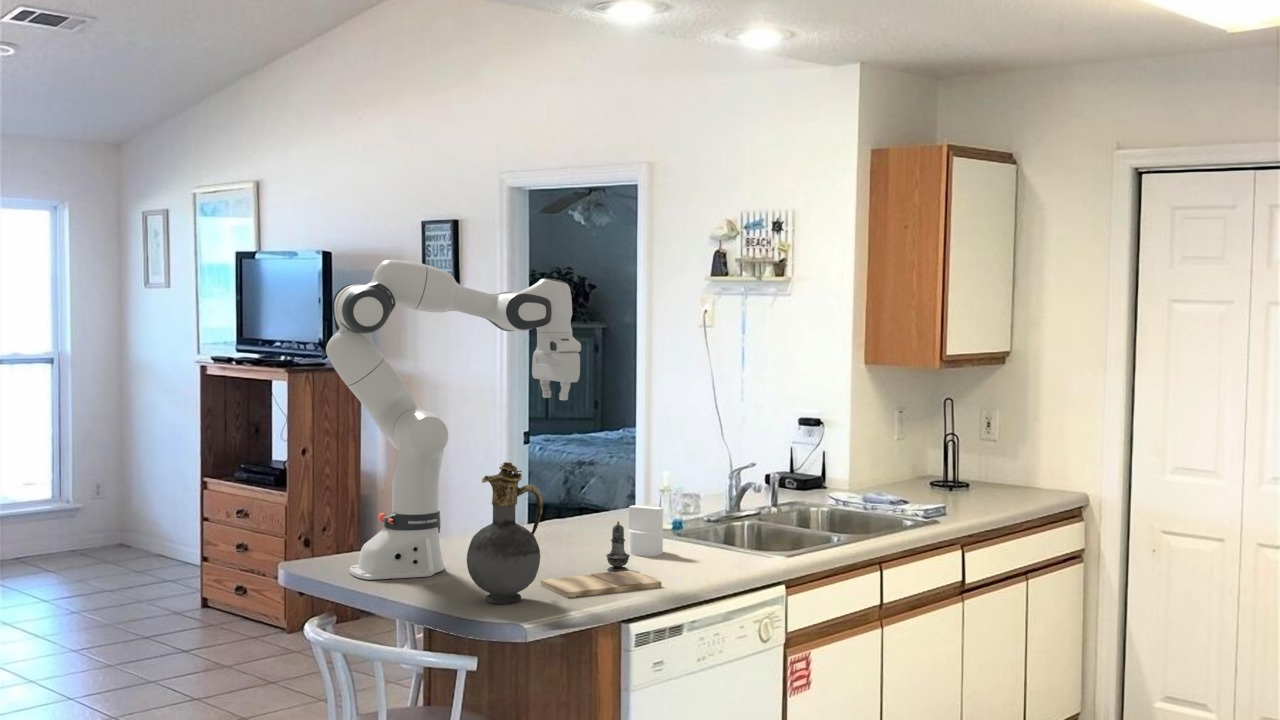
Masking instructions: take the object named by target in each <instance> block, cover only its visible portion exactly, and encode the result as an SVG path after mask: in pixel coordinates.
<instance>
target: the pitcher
mask: <svg viewBox="0 0 1280 720" xmlns="http://www.w3.org/2000/svg"><path fill="white" fill-rule="evenodd" d="M499 470H500V471H499V473H498V474H495V475H484V477H483V478H482V479H481V482H482V483H489V485H490V486H491V488H492V498H491V499H492V500H491V506H492V523H490V524H488V525H486V526H485V527H483V528H481V529H480V530H479V531H478V532H476V533H475V534H474V535H473V536H472V537H471V540H470V542H469V545H468V550H467V554H466V566H467V570H468V571H467V572H468V573H469V576H470V578H471V580H472V581H473V582H474V583H475V585H476V586H477V587H478V588H479V589H481V590H483V591H484V592H486V593H489V594H487V595H486V596H485V601H486V603H489V604H493V605H508V604H514V603H517V602H520V601H522V595H521V594H520V593H521V592H522V591H524V590H525V589H527V588H528V587H529V586H531V584H532V583H533V582H534V581H535V579H536V577H537V575H538V571H539V568H540V564H541V550H540V547H539V543H538V541H537V538H536V537H535V533H536V532H537V529H538V526H539V524H540V520H541V516H542V515H543V507H544V498H543V496H542V494H541V492H540V489H539V487H538V486H536V485H535V484H525V485H523V486H522V487H518V486H519V482H520V481H521V480H522V471H523V470H518V467H517V466H516V465H513V462H508V461H505V462H503V463H501V464H500V466H499ZM528 492H530V493H533V494H534V496H535V498H536V502H537V503H536V504H537V508H536V518H535V521H534V524H533V526H532V531H530V530H528V528H526V527H524V526H523V525H520V524H519V523H517V522H516V506H517V504H518V497H520V496H522V495H523V494H525V493H528Z"/></svg>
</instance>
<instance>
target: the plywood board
mask: <svg viewBox="0 0 1280 720" xmlns="http://www.w3.org/2000/svg"><path fill="white" fill-rule="evenodd" d="M540 586H542V587H544V588H546V589H548V590H550V591H552V592H554V593H556V594H559V595H560V596H563V597H565V598H566V599H567V598H568V597H570V598H577V597H576V596H579V597H585V596H586V597H587V596H594V595H595V596H596V595H603V594H613V593H621V592H628V591H629V592H630V591H639V590H638V589H640V590H647V589H646V588H648V589H656V588H655V587H657V588H662V581H660V580H658V579H655V578H653V577H649V576H648V575H645V574H642V573H639V572H637V571H634V570H628V571H622V572H610V571H606V572H605V571H604V572H599V573H598V572H597V573H590V574H585V575H575V576H567V577H558V578H547V579H540Z"/></svg>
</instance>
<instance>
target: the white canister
mask: <svg viewBox="0 0 1280 720" xmlns="http://www.w3.org/2000/svg"><path fill="white" fill-rule="evenodd" d="M663 543H664V508H663V507H660V506H659V507H658V506H650V505H649V506H648V505H647V506H646V505H636V504H635V505H630V506H629V507H628V552H627V554H629V555H631V554H632V555H633V556H639V557H654V556H655V557H656V556H659V555H660V554H661V555H663V545H664V544H663Z"/></svg>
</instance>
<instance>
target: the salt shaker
mask: <svg viewBox="0 0 1280 720" xmlns="http://www.w3.org/2000/svg"><path fill="white" fill-rule="evenodd" d="M611 529H612V532H611V533H612V535H611V537H612V538H611V539H610V541H611V549H610V552H609V553H606V555H605V557H606V560H607V563H608V564H609V565H610V566H609V567H608V568H606V572H622V571H629V568H627V567H626V565H627V563H628V562H629V560H630V559H629V558H630V556H631V554H629V553H626V551H625V542H626V539H625V528H624V526H623V525H622V524H620V521H617V522H616V525H613V527H612V528H611Z"/></svg>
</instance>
